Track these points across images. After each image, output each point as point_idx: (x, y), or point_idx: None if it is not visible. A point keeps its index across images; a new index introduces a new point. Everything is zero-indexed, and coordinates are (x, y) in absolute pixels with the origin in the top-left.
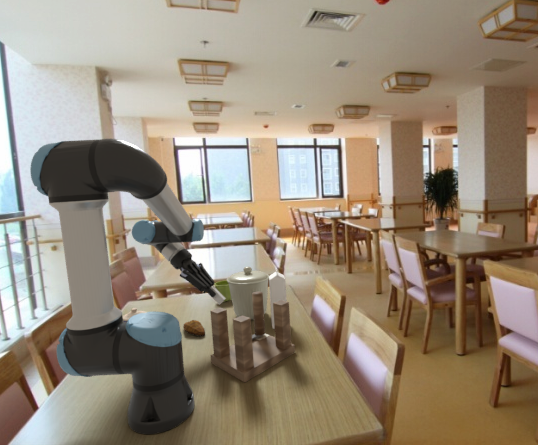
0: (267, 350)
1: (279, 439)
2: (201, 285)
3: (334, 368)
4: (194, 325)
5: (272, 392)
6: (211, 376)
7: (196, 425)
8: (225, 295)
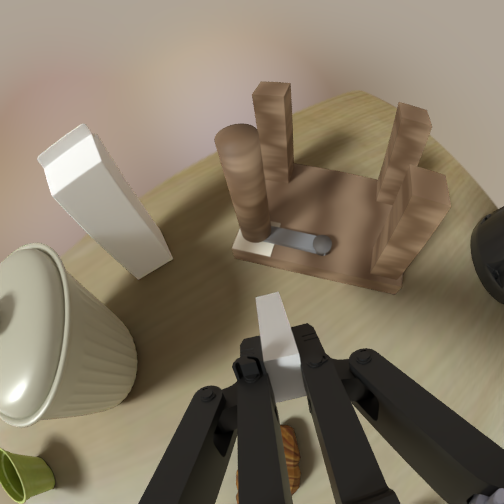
0: (314, 188)
1: None
2: (392, 372)
3: None
4: None
5: None
6: (424, 257)
7: (481, 205)
8: (38, 470)
